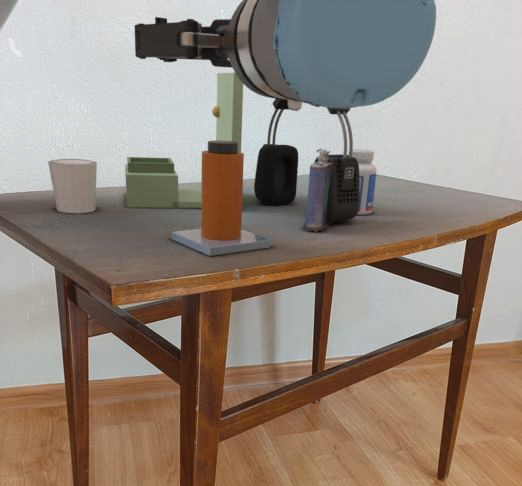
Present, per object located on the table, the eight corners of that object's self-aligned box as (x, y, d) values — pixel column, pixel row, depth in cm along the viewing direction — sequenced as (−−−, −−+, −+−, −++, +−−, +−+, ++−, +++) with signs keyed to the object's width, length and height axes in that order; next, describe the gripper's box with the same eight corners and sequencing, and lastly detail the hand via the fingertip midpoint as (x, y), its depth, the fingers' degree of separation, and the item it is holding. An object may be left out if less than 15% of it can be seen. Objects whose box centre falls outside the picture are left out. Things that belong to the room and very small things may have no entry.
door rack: (127, 210, 91) (121, 66, 83) (126, 192, 105) (120, 67, 97) (239, 210, 95) (243, 73, 86) (223, 193, 109) (225, 73, 101)
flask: (319, 232, 83) (325, 152, 78) (299, 230, 84) (304, 150, 79) (335, 221, 91) (342, 147, 86) (317, 219, 92) (322, 146, 87)
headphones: (249, 200, 103) (253, 74, 95) (279, 198, 106) (286, 76, 98) (329, 226, 86) (342, 75, 78) (362, 223, 89) (378, 78, 81)
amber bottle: (194, 237, 73) (194, 141, 68) (212, 229, 77) (213, 139, 73) (230, 242, 71) (233, 145, 67) (247, 234, 76) (250, 142, 71)
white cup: (79, 203, 94) (76, 157, 91) (109, 209, 90) (106, 162, 87) (42, 208, 89) (37, 160, 86) (72, 216, 85) (68, 165, 82)
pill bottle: (362, 208, 102) (369, 149, 98) (377, 215, 97) (385, 152, 93) (333, 208, 100) (339, 148, 96) (347, 215, 95) (354, 152, 91)
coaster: (210, 256, 69) (210, 247, 69) (171, 239, 75) (171, 231, 75) (270, 247, 74) (270, 239, 74) (229, 232, 81) (229, 225, 80)
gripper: (106, 90, 40) (110, 85, 59) (440, 107, 46) (346, 97, 64) (100, -40, 37) (105, -2, 56) (459, -5, 42) (354, 19, 61)
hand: (234, 51), depth 60 cm, fingers open, 13 cm apart
